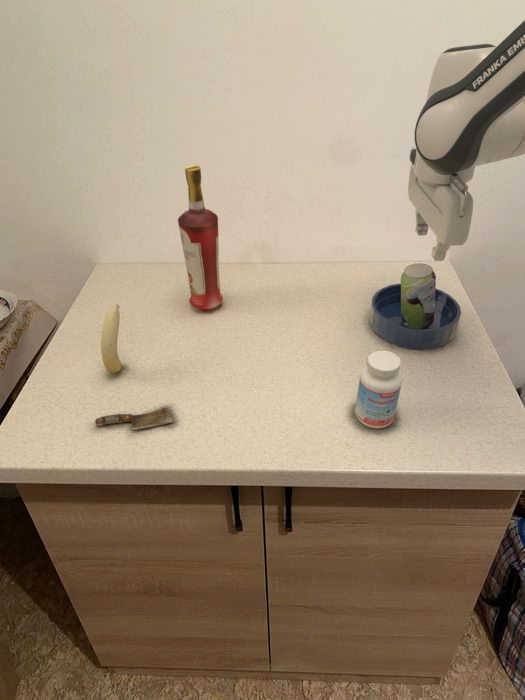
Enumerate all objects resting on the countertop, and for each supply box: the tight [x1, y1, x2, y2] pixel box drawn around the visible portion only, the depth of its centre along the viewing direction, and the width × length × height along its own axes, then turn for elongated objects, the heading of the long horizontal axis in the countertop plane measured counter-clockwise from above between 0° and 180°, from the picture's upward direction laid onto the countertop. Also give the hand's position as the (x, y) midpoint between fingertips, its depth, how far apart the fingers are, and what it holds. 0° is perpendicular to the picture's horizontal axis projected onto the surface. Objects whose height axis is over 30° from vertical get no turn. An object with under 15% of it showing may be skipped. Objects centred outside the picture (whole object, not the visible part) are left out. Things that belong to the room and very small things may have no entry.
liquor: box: [177, 165, 224, 312], centre depth 95 cm, size 7×7×28 cm
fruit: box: [100, 303, 122, 374], centre depth 84 cm, size 6×12×3 cm
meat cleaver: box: [94, 406, 174, 431], centre depth 78 cm, size 12×1×5 cm
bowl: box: [368, 282, 462, 351], centre depth 96 cm, size 16×16×4 cm
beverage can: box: [400, 262, 437, 329], centre depth 93 cm, size 6×7×12 cm
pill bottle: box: [354, 350, 403, 429], centre depth 75 cm, size 6×6×11 cm
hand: (428, 245), depth 87 cm, fingers open, 8 cm apart
